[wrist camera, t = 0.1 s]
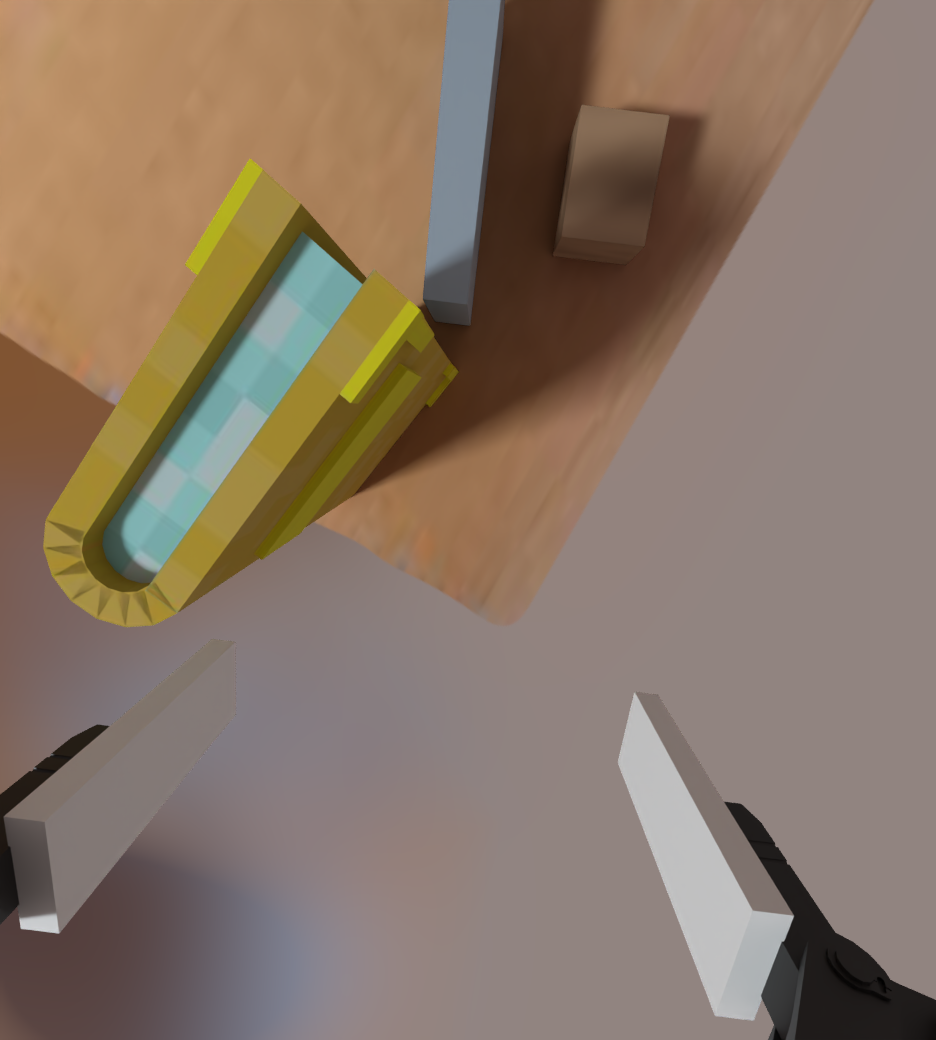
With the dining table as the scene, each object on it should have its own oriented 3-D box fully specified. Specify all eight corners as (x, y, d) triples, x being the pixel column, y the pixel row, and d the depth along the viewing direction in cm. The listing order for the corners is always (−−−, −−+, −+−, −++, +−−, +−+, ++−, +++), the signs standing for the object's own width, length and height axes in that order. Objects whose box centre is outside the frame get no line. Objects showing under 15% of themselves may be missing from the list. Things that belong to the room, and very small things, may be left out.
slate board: (462, 31, 33) (456, -84, 26) (502, 36, 33) (509, -78, 26) (434, 321, 38) (422, 299, 30) (470, 325, 38) (467, 304, 30)
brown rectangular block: (569, 142, 35) (581, 104, 31) (646, 152, 35) (669, 115, 31) (552, 256, 37) (561, 236, 33) (625, 265, 37) (644, 246, 33)
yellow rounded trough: (397, 317, 38) (249, 158, 14) (458, 371, 39) (420, 310, 15) (284, 470, 42) (6, 556, 17) (343, 516, 42) (157, 660, 18)
